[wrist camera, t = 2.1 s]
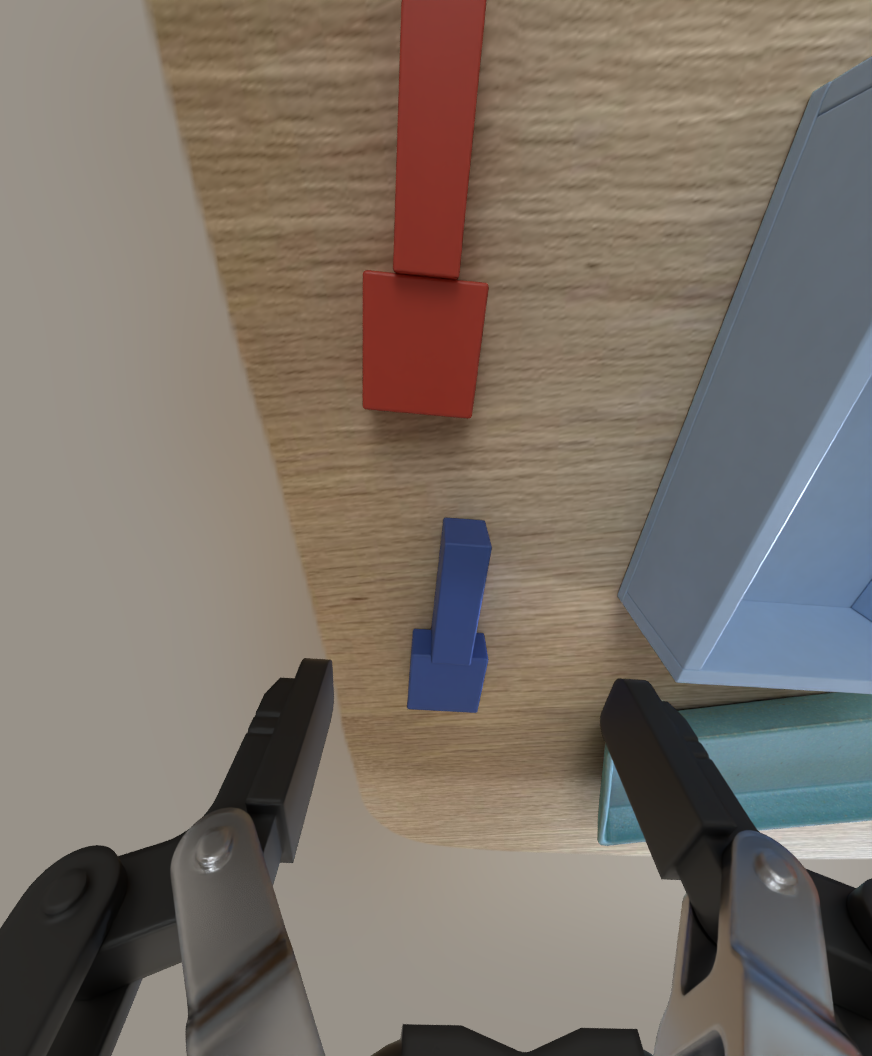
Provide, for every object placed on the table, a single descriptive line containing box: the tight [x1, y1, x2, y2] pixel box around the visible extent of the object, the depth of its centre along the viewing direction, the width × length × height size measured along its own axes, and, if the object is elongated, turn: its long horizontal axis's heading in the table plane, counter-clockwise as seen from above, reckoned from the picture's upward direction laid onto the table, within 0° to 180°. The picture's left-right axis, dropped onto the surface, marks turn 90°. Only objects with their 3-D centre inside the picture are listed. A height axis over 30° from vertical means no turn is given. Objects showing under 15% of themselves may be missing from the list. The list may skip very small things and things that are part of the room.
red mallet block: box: [363, 0, 489, 419], centre depth 10 cm, size 9×3×2 cm, turn 175°
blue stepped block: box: [407, 518, 492, 713], centre depth 16 cm, size 9×3×2 cm, turn 175°
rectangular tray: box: [597, 692, 872, 846], centre depth 20 cm, size 26×9×2 cm, turn 98°
